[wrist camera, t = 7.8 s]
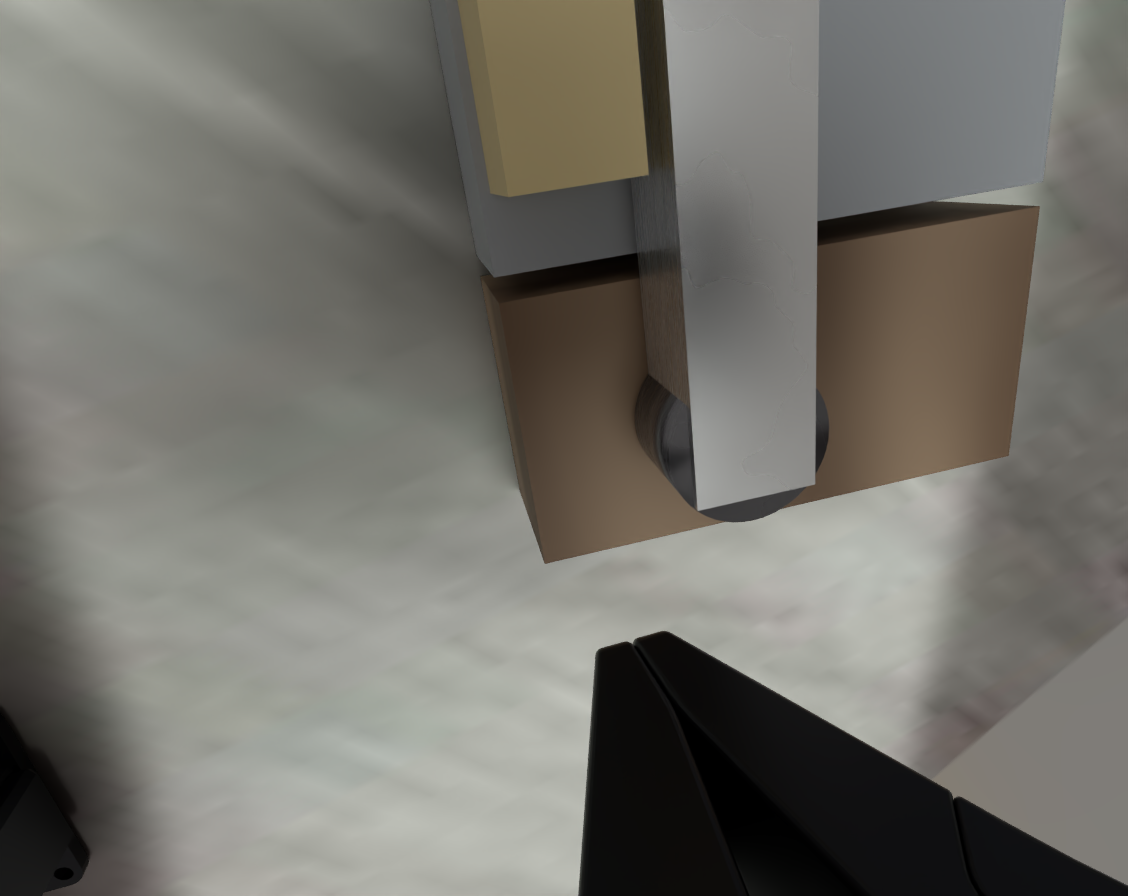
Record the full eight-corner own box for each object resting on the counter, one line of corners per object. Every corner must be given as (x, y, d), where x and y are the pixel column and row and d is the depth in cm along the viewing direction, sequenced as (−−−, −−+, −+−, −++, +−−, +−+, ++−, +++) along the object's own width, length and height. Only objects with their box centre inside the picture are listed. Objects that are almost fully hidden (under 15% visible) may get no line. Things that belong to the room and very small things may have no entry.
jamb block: (519, 490, 19) (544, 563, 16) (480, 276, 17) (498, 303, 13) (905, 407, 21) (1008, 455, 17) (917, 200, 19) (1039, 206, 15)
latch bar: (775, 461, 16) (833, 507, 14) (641, 490, 15) (679, 542, 13) (765, -142, 11) (848, -218, 9) (578, -126, 11) (619, -200, 9)
